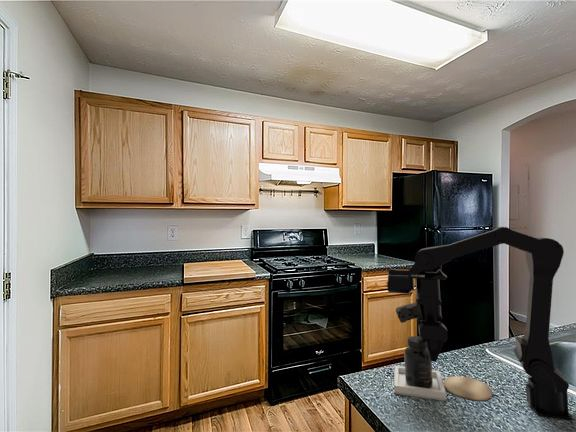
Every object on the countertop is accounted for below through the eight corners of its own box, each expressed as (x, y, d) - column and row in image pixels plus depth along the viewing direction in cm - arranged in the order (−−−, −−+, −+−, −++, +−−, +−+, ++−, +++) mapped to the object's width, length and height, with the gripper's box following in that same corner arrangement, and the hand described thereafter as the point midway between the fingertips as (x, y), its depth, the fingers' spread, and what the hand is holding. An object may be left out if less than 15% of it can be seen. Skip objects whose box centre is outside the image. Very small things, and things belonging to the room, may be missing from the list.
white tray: (439, 378, 86) (439, 371, 86) (446, 401, 74) (445, 392, 75) (395, 372, 90) (394, 365, 90) (394, 393, 79) (394, 385, 79)
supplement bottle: (400, 380, 84) (398, 336, 85) (420, 376, 86) (418, 333, 87) (417, 392, 78) (415, 345, 78) (439, 388, 80) (436, 341, 80)
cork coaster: (485, 381, 83) (485, 379, 83) (498, 403, 73) (498, 401, 73) (441, 376, 87) (441, 374, 87) (447, 396, 77) (446, 393, 77)
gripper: (397, 287, 93) (399, 339, 93) (396, 301, 76) (399, 365, 75) (436, 289, 90) (440, 342, 89) (446, 304, 72) (450, 371, 71)
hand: (431, 354), depth 81 cm, fingers open, 9 cm apart
